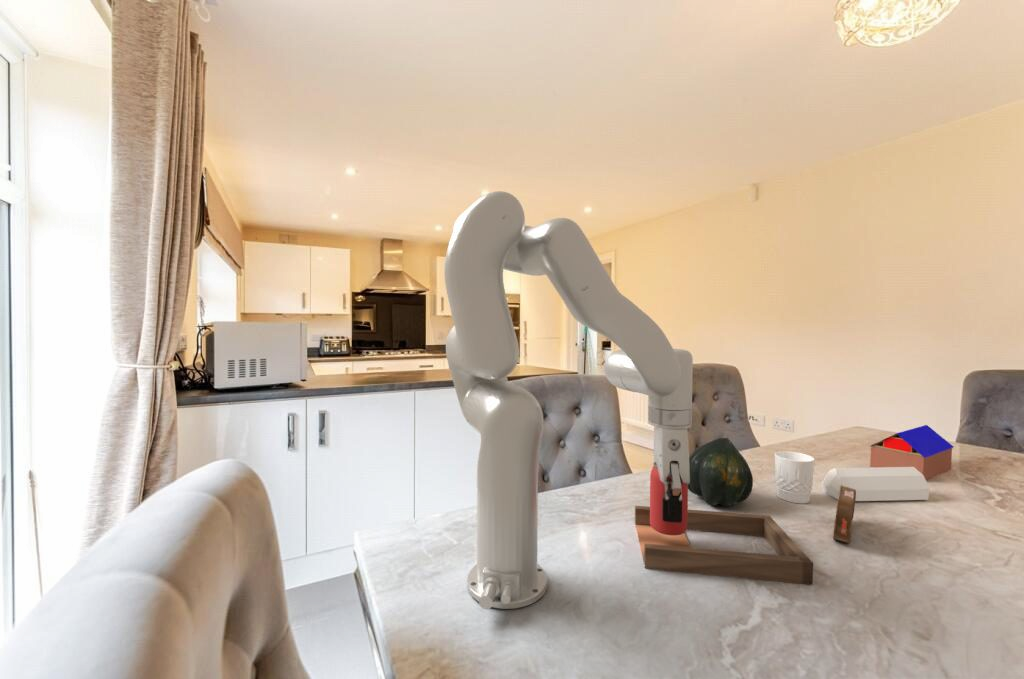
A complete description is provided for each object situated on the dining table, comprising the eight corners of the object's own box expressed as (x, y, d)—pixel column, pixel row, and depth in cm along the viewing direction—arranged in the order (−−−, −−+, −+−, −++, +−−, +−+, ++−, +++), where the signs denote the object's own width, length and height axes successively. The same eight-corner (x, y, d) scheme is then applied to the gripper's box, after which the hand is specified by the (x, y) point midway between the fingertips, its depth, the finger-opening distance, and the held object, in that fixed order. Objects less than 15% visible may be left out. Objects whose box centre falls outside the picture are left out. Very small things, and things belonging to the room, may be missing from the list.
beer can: (690, 538, 77) (691, 471, 76) (651, 535, 78) (652, 469, 78) (683, 521, 83) (684, 459, 83) (647, 518, 85) (648, 457, 84)
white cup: (797, 491, 107) (799, 450, 106) (821, 504, 99) (823, 461, 98) (766, 491, 106) (767, 451, 106) (787, 505, 99) (789, 461, 98)
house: (868, 469, 123) (869, 428, 123) (899, 458, 133) (900, 420, 132) (923, 483, 113) (925, 438, 112) (953, 470, 123) (954, 429, 122)
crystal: (844, 490, 98) (946, 488, 99) (824, 465, 104) (919, 464, 105) (830, 511, 102) (928, 509, 103) (811, 486, 108) (904, 484, 109)
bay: (812, 584, 69) (813, 563, 69) (645, 568, 73) (645, 547, 73) (768, 532, 86) (769, 515, 85) (634, 522, 90) (634, 505, 90)
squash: (676, 483, 97) (725, 436, 94) (668, 464, 111) (711, 423, 109) (727, 532, 94) (779, 484, 92) (712, 506, 109) (757, 464, 106)
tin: (836, 518, 92) (837, 478, 92) (855, 522, 90) (856, 482, 90) (831, 546, 81) (833, 501, 80) (852, 552, 79) (854, 506, 78)
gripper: (703, 429, 71) (701, 537, 71) (681, 407, 88) (680, 494, 88) (655, 427, 72) (654, 533, 73) (642, 406, 89) (641, 492, 90)
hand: (668, 511), depth 81 cm, fingers closed on beer can, 6 cm apart
